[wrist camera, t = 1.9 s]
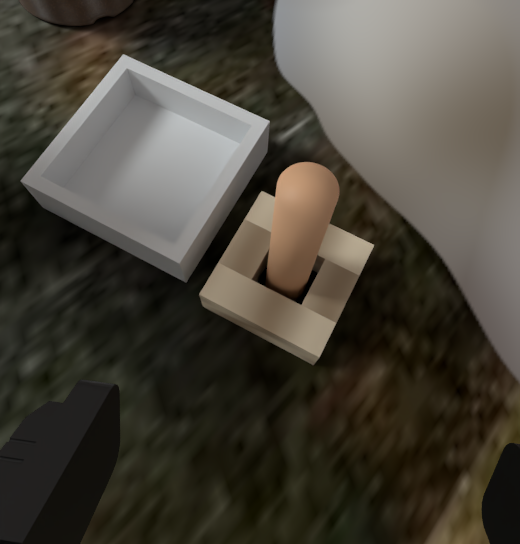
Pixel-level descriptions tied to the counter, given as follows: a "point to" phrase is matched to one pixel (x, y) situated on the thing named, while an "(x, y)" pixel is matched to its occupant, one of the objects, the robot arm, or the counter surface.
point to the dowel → (299, 225)
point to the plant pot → (74, 10)
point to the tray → (150, 165)
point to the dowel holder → (271, 305)
